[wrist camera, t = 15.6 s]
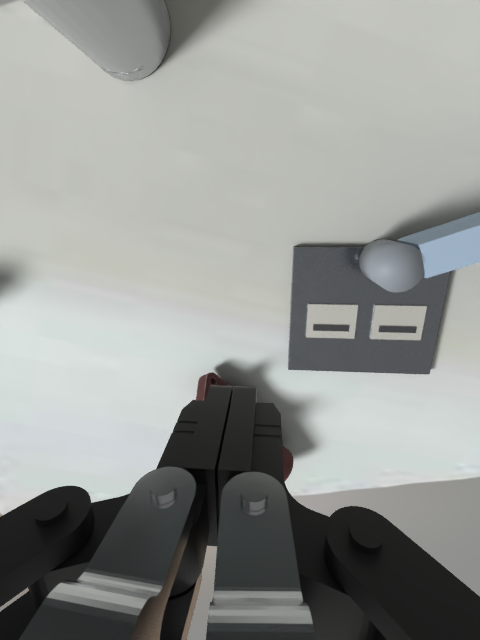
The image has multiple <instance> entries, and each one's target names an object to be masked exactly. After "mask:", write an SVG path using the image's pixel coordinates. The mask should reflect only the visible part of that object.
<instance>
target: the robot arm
mask: <svg viewBox="0 0 480 640" xmlns="http://www.w3.org/2000/svg"><path fill="white" fill-rule="evenodd" d="M22 1H23V2H24V3H25V4H27V5H28V6H29V7H30V8H31V9H32V10H34V11H35V12H36V13H37V14H38V15H39V16H41V17H42V18H43V19H44V20H45V21H47V22H48V23H49V24H50V25H51V26H52V27H54V28H55V29H56V30H57V31H58V32H59V33H61V34H62V35H63V36H64V37H65V38H67V39H68V40H69V41H70V42H71V43H72V44H74V45H75V46H76V47H77V48H78V49H80V50H81V51H82V52H83V53H84V54H85V55H86V56H88V57H89V58H90V59H91V60H92V61H94V62H95V63H96V64H97V65H98V66H99V67H101V68H102V69H103V70H104V71H105V72H107V73H108V74H110V75H112V76H113V77H115V78H118V79H121V80H128V81H133V80H139V79H142V78H144V77H146V76H148V75H150V74H151V73H152V72H153V71H155V70H156V69H157V67H158V66H159V65H160V63H161V62H162V60H163V58H164V56H165V54H166V52H167V48H168V45H169V39H170V18H169V14H168V10H167V6H166V4H165V2H164V0H22ZM207 545H208V546H217V555H216V568H215V580H214V592H213V600H212V602H210V607H209V613H208V622H207V633H206V640H480V597H479V596H478V595H477V594H476V593H475V592H473V591H472V590H471V589H470V588H469V587H467V586H466V585H465V584H464V583H463V582H461V581H460V580H459V579H458V578H456V577H455V576H454V575H453V574H452V573H451V572H449V571H448V570H447V569H446V568H445V567H443V566H442V565H441V564H440V563H439V562H437V561H436V560H435V559H434V558H433V557H431V556H430V555H429V554H428V553H427V552H425V551H424V550H423V549H422V548H421V547H419V546H418V545H417V544H416V543H415V542H413V541H412V540H411V539H410V538H409V537H407V536H406V535H405V534H404V533H403V532H402V531H400V530H399V529H398V528H397V527H396V526H394V525H393V524H392V523H391V522H390V521H388V520H387V519H386V518H384V517H383V516H382V515H380V514H378V513H376V512H374V511H372V510H370V509H367V508H363V507H358V506H349V507H344V508H341V509H338V510H337V511H335V512H334V513H333V514H332V515H331V516H330V517H328V516H326V515H323V514H320V513H317V512H315V511H312V510H310V509H308V508H306V507H304V506H302V505H301V504H300V503H298V502H297V501H296V500H295V499H294V498H293V497H292V496H291V495H290V493H289V492H288V490H287V488H286V486H285V482H284V471H283V453H282V434H281V416H280V412H279V411H278V410H277V408H276V407H275V405H274V404H273V403H257V387H248V386H234V389H233V386H220V385H210V387H209V390H208V393H207V396H206V399H205V401H203V400H193V401H191V402H190V403H189V404H188V405H187V406H186V407H184V408H183V409H182V411H181V414H180V416H179V418H178V420H177V423H176V425H175V427H174V430H173V433H172V434H171V436H170V439H169V441H168V443H167V446H166V448H165V450H164V452H163V455H162V457H161V459H160V462H159V464H158V466H157V468H156V469H155V470H153V471H151V472H149V473H147V474H146V475H144V476H143V477H142V478H141V479H140V480H139V481H138V482H137V483H136V484H135V486H134V487H133V489H132V491H131V492H130V494H127V495H125V496H121V497H117V498H113V499H108V500H103V501H99V502H94V503H91V500H90V496H89V494H88V492H87V491H86V490H84V489H83V488H80V487H77V486H63V487H58V488H55V489H52V490H49V491H47V492H45V493H43V494H41V495H39V496H37V497H35V498H34V499H32V500H30V501H28V502H26V503H25V504H23V505H21V506H19V507H17V508H16V509H14V510H12V511H10V512H8V513H7V514H5V515H3V516H1V517H0V607H1V606H2V605H4V604H5V603H6V602H8V601H9V600H11V599H12V598H13V597H15V596H16V595H18V594H19V593H20V592H22V591H23V590H25V589H26V588H27V587H28V589H29V591H28V592H27V593H26V594H24V595H23V596H21V597H20V598H19V599H17V600H16V601H14V602H13V603H12V604H10V605H9V606H8V607H6V608H5V609H3V610H2V611H1V612H0V640H187V637H188V633H189V629H190V625H191V621H192V617H193V614H194V609H195V605H196V601H197V597H198V594H199V590H200V586H201V581H202V568H203V564H204V558H205V553H206V548H207Z"/></svg>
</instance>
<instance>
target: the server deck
mask: <svg viewBox="0 0 480 640" xmlns="http://www.w3.org/2000/svg"><path fill="white" fill-rule="evenodd" d="M366 246H367V245H366ZM366 246H364V247H293V269H292V291H291V313H290V334H289V356H288V370H315V371H345V372H374V373H404V374H430V369H431V364H432V359H433V354H434V349H435V344H436V339H437V335H438V330H439V325H440V320H441V315H442V310H443V305H444V300H445V296H446V291H447V286H448V281H449V276H450V271H449V272H446V273H442V274H439V275H436V276H433V277H429V278H424V277H422V279H421V280H420V281H419V283H418V284H417V285H415V286H414V287H413V288H411V289H409V290H407V291H404V292H398V293H395V292H390V291H387V290H385V289H383V288H382V287H380V286H379V285H378V284H376V283H375V282H373V281H372V280H370V279H369V278H367V277H366V276H365V275H364V274H363V273H362V271H361V269H360V265H359V259H360V255H361V253H362V251H363V250H364V248H365V247H366Z"/></svg>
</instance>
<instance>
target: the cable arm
mask: <svg viewBox="0 0 480 640" xmlns="http://www.w3.org/2000/svg"><path fill="white" fill-rule="evenodd" d="M478 262H480V212H478V213H475V214H472V215H469V216H466V217H463V218H460V219H457V220H454V221H451V222H448V223H445V224H442V225H439V226H436V227H433V228H429V229H426V230H423V231H420V232H417V233H414V234H411V235H408V236H405V237H402V238H399V239H397V242H395V241H391V240H386V239H380V240H376V241H373V242H371V243H370V244H368V245H367V246H366V247H365V248H364V250H363V251H362V253H361V255H360V259H359V265H360V269H361V271H362V273H363V274H364V275H365V276H366V277H367V278H369V279H370V280H372V281H373V282H375V283H376V284H378V285H379V286H380V287H382V288H383V289H385V290H387V291H390V292H395V293H398V292H404V291H407V290H409V289H411V288H413V287H414V286H415V285H417V284H418V283H419V281H420V280H421V279H422V277H424V278H429V277H433V276H436V275H439V274H442V273H446V272H449V271H452V270H456V269H459V268H462V267H465V266H469V265H472V264H475V263H478Z"/></svg>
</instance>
